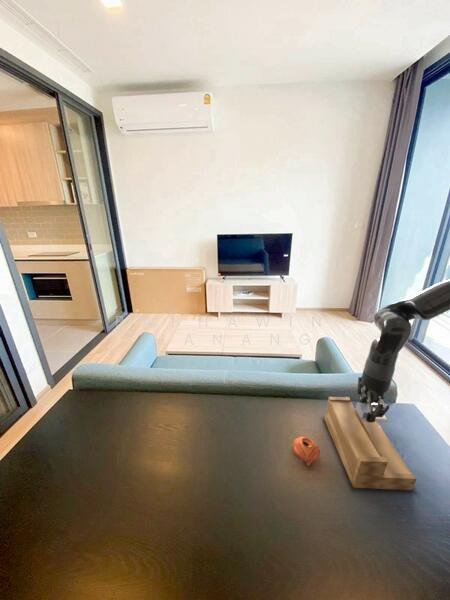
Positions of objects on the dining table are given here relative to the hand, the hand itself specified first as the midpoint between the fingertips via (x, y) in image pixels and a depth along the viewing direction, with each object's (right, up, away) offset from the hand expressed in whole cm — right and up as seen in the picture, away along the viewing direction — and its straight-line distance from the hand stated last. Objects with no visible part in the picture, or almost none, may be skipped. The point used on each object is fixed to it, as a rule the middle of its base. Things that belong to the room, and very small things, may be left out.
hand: (365, 414), depth 80 cm
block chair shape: (+1, 0, 0) cm, 2 cm away
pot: (-21, -11, -4) cm, 24 cm away
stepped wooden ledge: (-3, -10, -1) cm, 11 cm away
